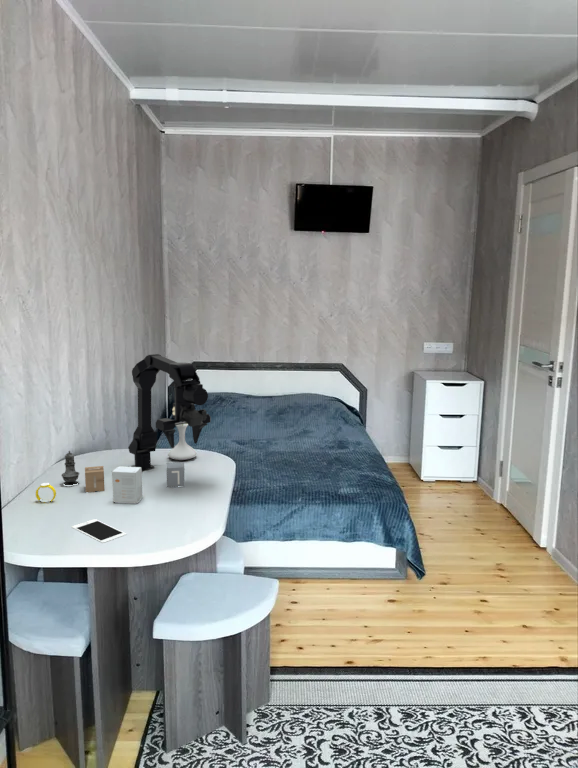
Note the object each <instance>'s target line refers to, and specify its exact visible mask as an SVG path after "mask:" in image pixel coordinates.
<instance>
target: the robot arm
mask: <svg viewBox="0 0 578 768" xmlns="http://www.w3.org/2000/svg"><path fill="white" fill-rule="evenodd" d="M160 371H162V372H164V373H166V374H168V375H169V376H168V377H169V379H171V380H172V381H173V382H172V383H171V387H174V402H173V403H172V407H175V415H173V414H172V418H173V419H171V418H167V417H165V418H158V419H157V420H156V422H155V428H156V429H159V430H160V431H162V432H163V434H164V436H165V437H166V440H167V441H168V444H169V446H170V448H171V449H172V448H174V447H175V432H176V429H175V427H176V425H179V424H185V423H187V424H188V427H191V428H192V429H191V430H192V439H193V444H197V443H198V441H199V438H200V435H201V432H202V430H203V428H205V426H208V423H212V422H211V419H212V418H211V415H210V414H209V413H208V412H207V410H206V409H205V408H203V409H197V410H196V408H195V407H196V406H203V405H205V404H206V403H207V401H208V398H209V393H208V392H207V390H206V389H205V388H204V386H203V385H204V384H201V381H200V377H199V376H198V375H199V374H198V373H197V371H196V368H195V367H194V365H193V364H192V363H191V362H178V361H174V360H172V359H170V358H167V357H164V356H163V355H161V354H159V353H155V354H154V353H152V354H147V355H146V356H145V358H143V359H142V360H140V361H139V362H137V363H135V365H134V367H133V368H132V370H131V376H132V381H133V383H134V385H135V386H136V388H137V427H136V428H135V430H134V431H133V435H132V436H133V437H132V441H131V442H130V444H129V445H128V452H129V453H130V454H132V455H134V465H133V464H132V465H130V467H141V469H142V471H145V470H149V469H153V468H155V466H154V465H152V463H151V462H152V460H151V459H152V458H151V452H155V451H156V449H157V443H158V437H157V436H158V432H157V431H155V430H154V428H153V426H152V388H153V387H154V385H155V383H156V382H157V375H158V373H159V372H160Z"/></svg>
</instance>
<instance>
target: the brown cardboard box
mask: <svg viewBox="0 0 578 768" xmlns="http://www.w3.org/2000/svg"><path fill="white" fill-rule="evenodd" d="M84 479H85V480H84V481H85V484H84V485H85V493H86V492H88V493H96V492H95V491H99V492H105V469H104V465H97V466H85V467H84Z"/></svg>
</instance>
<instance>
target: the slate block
mask: <svg viewBox="0 0 578 768" xmlns="http://www.w3.org/2000/svg"><path fill="white" fill-rule="evenodd" d="M165 470H166V488H167V487H172V488H179V487H178V486H186V485H185V462H166V469H165Z"/></svg>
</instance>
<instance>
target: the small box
mask: <svg viewBox="0 0 578 768" xmlns="http://www.w3.org/2000/svg"><path fill="white" fill-rule="evenodd" d="M142 471H143V470H142V469H141V467H131V466H117V467H115V469H113V470H112V471H111V479H112V483H111V484H112V499H113V501H112V502H113V503H114V502H115V503H117V504H133V505H134V504H136V505H137V504H138V503H139V502H140V501H141V500H142V498H143V497H144V495H143V472H142Z"/></svg>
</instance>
